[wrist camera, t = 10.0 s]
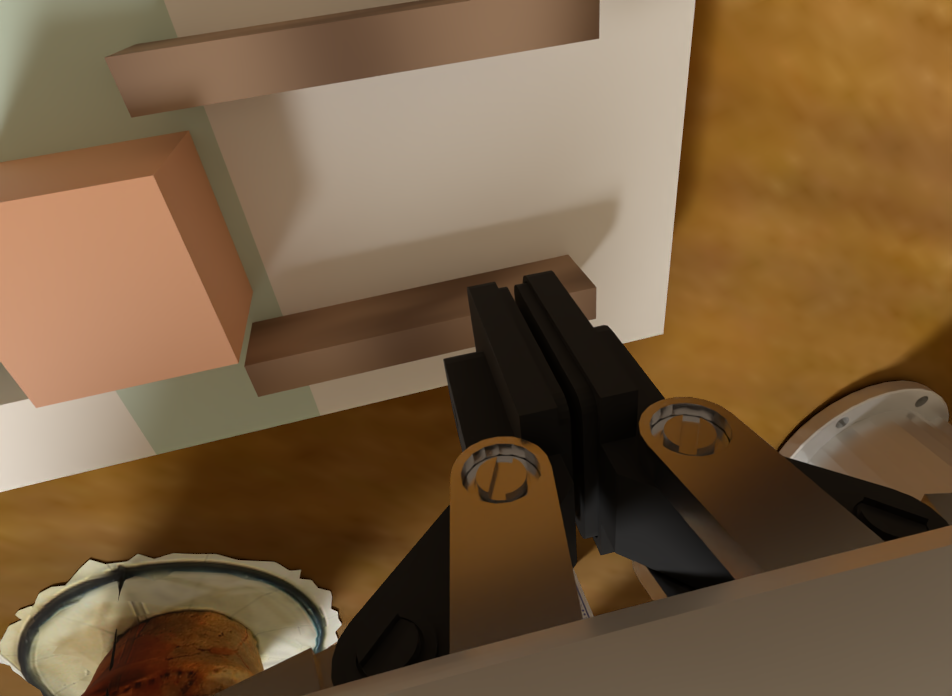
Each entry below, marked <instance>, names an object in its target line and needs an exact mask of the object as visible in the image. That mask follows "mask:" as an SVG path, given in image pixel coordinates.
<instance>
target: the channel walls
mask: <svg viewBox="0 0 952 696" xmlns="http://www.w3.org/2000/svg"><path fill="white" fill-rule="evenodd" d="M599 20H600V0H419V1H413V2H406V3H400V4H393V5H387V6H380V7H374V8H367V9H361V10H354V11H348V12H341V13H335V14H328V15H322V16H315V17H309V18H302V19H296V20H289V21H283V22H277V23H270V24H264V25H257V26H251V27H244V28H238V29H231V30H225V31H218V32H212V33H205V34H199V35H192V36H186V37H179V38H173V39H166V40H160V41H153V42H147V43H140V44H135V45H133V46H130V47H128V48H126V49H123V50H121V51H118V52H116V53H114V54H111V55H109V56H107V57H104V58H105V61H106V63H107V65H108V67H109V69H110V72H111V74H112V76H113V78H114V80H115V83H116V85H117V87H118V89H119V91H120V94H121V96H122V98H123V100H124V103H125V105H126V107H127V109H128V111H129V114H130V116H131V118H132V117H138V116H144V115H150V114H156V113H162V112H168V111H174V110H180V109H186V108H191V107H197V106H203V105H209V104H215V103H221V102H227V101H233V100H239V99H245V98H251V97H257V96H263V95H268V94H274V93H280V92H286V91H292V90H298V89H304V88H310V87H316V86H322V85H328V84H334V83H340V82H345V81H351V80H357V79H363V78H369V77H375V76H381V75H387V74H393V73H399V72H405V71H411V70H417V69H422V68H428V67H434V66H440V65H446V64H452V63H458V62H464V61H470V60H476V59H482V58H488V57H494V56H499V55H505V54H511V53H517V52H523V51H529V50H535V49H541V48H547V47H553V46H559V45H565V44H571V43H576V42H582V41H588V40H594V39H599ZM550 270H552V271H553V272H554V273H555V275H556V276H557V277H558V279H559V280H560V282H561V283H562V284H563V286H564V287H565V289H566V290H567V291H568V293H569V294H570V295H571V297H572V298H573V300H574V301H575V302H576V304H577V305H578V307H579V308H580V309H581V311H582V312H583V314H584V315H585V316H586V318H587V319H588V320H593V319H596V286H595V285H594V284H593V283H592V281H591V280H590V279H589V278H588V277H587V276H586V275H585V273H584V272H583V271H582V270H581V269H580V268H579V266H578V265H577V264H576V263H575V262H574V261H573V259H572V258H571V257H570V256H569V255H564V256H559V257H555V258H550V259H545V260H541V261H536V262H531V263H527V264H522V265H517V266H513V267H508V268H504V269H499V270H494V271H490V272H485V273H480V274H476V275H471V276H467V277H462V278H457V279H453V280H448V281H443V282H439V283H434V284H429V285H425V286H420V287H416V288H411V289H406V290H402V291H397V292H392V293H388V294H383V295H378V296H374V297H369V298H365V299H360V300H355V301H351V302H346V303H341V304H337V305H332V306H327V307H323V308H318V309H314V310H309V311H304V312H300V313H295V314H290V315H286V316H281V317H277V318H272V319H267V320H263V321H258V322H253V323H252V327H251V333H250V338H249V343H248V349H247V354H246V359H245V365H244V367H245V369H246V371H247V374H248V376H249V378H250V380H251V382H252V385H253V387H254V389H255V391H256V393H257V396H258V397H261V396H265V395H269V394H274V393H278V392H282V391H287V390H291V389H295V388H299V387H304V386H308V385H312V384H317V383H321V382H325V381H330V380H334V379H338V378H343V377H347V376H351V375H356V374H360V373H364V372H369V371H373V370H377V369H382V368H386V367H390V366H394V365H399V364H403V363H407V362H412V361H416V360H420V359H425V358H429V357H433V356H438V355H442V354H446V353H451V352H455V351H459V350H464V349H468V348H472V347H475V342H474V335H473V329H472V322H471V315H470V309H469V302H468V295H467V287H470V286H475V285H480V284H485V283H490V282H496V284H497V286H498V288H502V287H508V289H509V291H510V293H511V295H512V297H513V298H514V300H515V296H514V286H515V285H517V284H522V283H523V276H525V275H530V274H535V273H540V272H545V271H550Z"/></svg>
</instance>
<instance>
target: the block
mask: <svg viewBox="0 0 952 696" xmlns="http://www.w3.org/2000/svg"><path fill="white" fill-rule="evenodd" d="M252 295H253V290H252V288H251V285H250V283H249V280H248V278H247V275H246V273H245V270H244V268H243V265H242V263H241V260H240V258H239V255H238V253H237V250H236V248H235V245H234V243H233V240H232V237H231V235H230V232H229V230H228V227H227V225H226V222H225V220H224V217H223V215H222V212H221V210H220V207H219V205H218V202H217V200H216V197H215V195H214V192H213V190H212V187H211V185H210V182H209V180H208V177H207V175H206V172H205V170H204V167H203V165H202V162H201V160H200V157H199V155H198V152H197V150H196V147H195V145H194V142H193V140H192V137H191V135H190V132H189V130H188V131H182V132H176V133H171V134H165V135H159V136H153V137H147V138H141V139H135V140H129V141H123V142H118V143H112V144H106V145H100V146H94V147H88V148H82V149H76V150H71V151H65V152H59V153H53V154H47V155H41V156H35V157H29V158H23V159H18V160H12V161H6V162H0V362H1V363H2V364H3V366H4V367H5V368H6V370H7V371H8V372H9V373H10V375H11V376H12V377H13V379H14V380H15V381H16V383H17V384H18V385H19V387H20V388H21V389H22V390H23V392H24V393H25V394H26V396H27V397H28V398H29V400H30V401H31V402H32V403H33V405H34V406H35V407H36V408H39V407H43V406H48V405H52V404H57V403H61V402H66V401H70V400H75V399H79V398H84V397H88V396H93V395H97V394H102V393H106V392H111V391H115V390H120V389H125V388H129V387H134V386H138V385H143V384H147V383H152V382H156V381H161V380H165V379H170V378H174V377H179V376H183V375H188V374H192V373H197V372H202V371H206V370H211V369H215V368H220V367H224V366H229V365H233V364H238V363H239V359H240V354H241V349H242V344H243V339H244V334H245V329H246V325H247V320H248V315H249V310H250V305H251V300H252Z"/></svg>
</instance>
